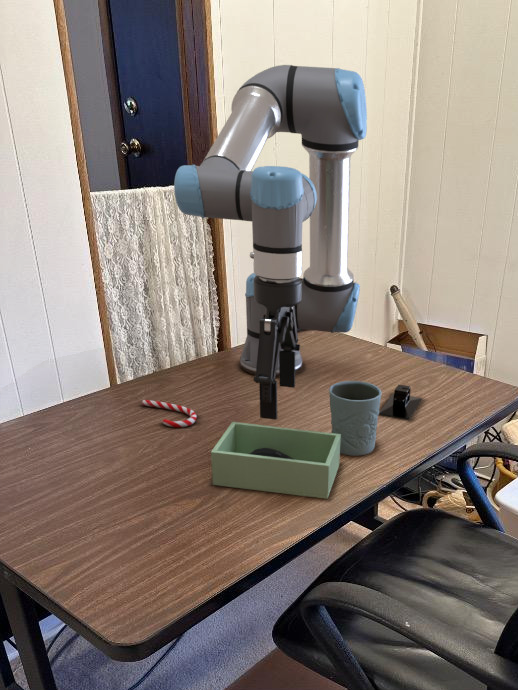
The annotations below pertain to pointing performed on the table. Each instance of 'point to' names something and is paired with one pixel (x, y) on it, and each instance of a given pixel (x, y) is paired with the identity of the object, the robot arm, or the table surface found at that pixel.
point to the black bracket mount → (401, 403)
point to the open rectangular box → (276, 460)
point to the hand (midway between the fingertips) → (278, 401)
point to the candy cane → (175, 408)
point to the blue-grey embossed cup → (355, 415)
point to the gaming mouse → (270, 453)
